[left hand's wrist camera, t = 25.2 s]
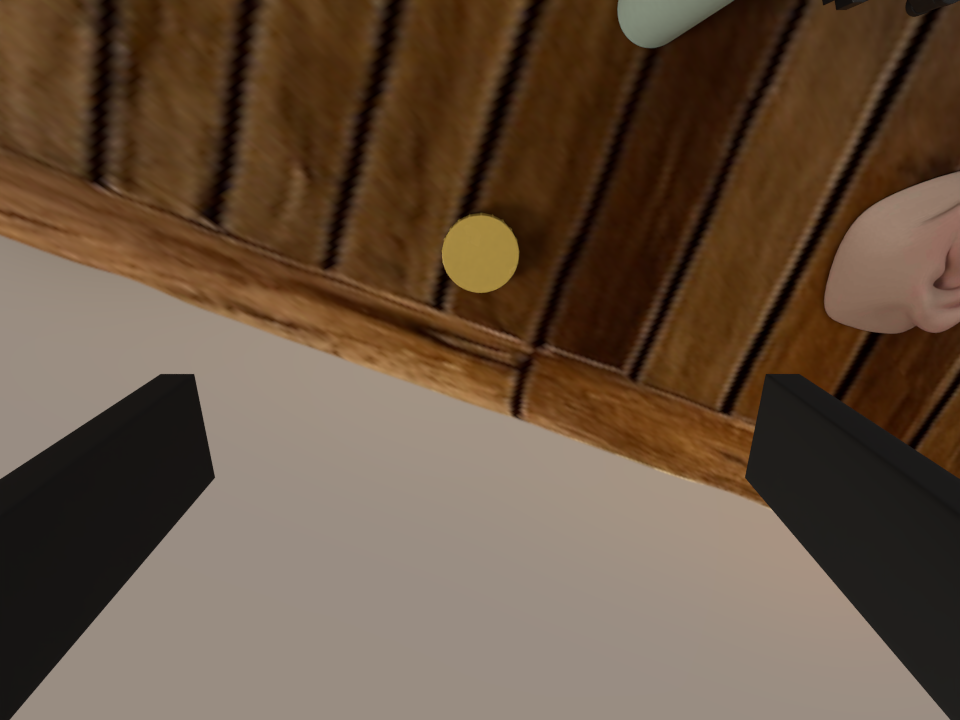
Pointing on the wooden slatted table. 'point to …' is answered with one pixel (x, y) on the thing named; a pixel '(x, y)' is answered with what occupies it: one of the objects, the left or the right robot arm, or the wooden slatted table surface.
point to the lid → (480, 253)
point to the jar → (663, 18)
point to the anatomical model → (901, 262)
